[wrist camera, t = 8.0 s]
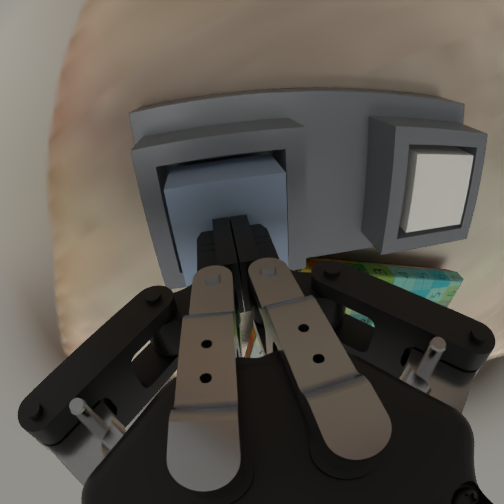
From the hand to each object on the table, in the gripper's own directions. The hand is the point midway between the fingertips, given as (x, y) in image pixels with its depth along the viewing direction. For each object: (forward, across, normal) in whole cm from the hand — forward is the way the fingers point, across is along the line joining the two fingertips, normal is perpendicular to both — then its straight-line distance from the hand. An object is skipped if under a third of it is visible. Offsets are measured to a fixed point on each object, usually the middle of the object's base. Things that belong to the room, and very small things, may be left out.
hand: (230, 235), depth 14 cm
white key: (+5, -13, 0) cm, 14 cm away
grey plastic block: (+8, -7, 0) cm, 10 cm away
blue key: (+3, 0, 0) cm, 3 cm away
